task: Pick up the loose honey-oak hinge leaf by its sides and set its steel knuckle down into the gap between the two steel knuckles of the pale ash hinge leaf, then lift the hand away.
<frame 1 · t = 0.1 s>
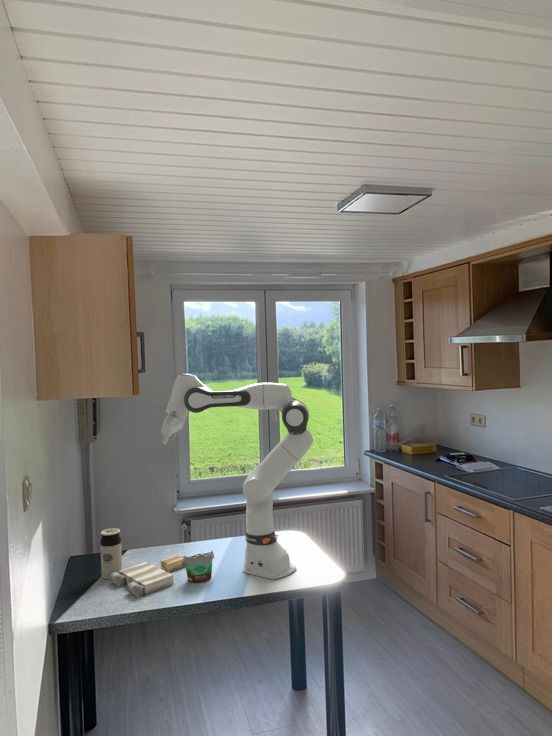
hand: (168, 442, 213), 52 cm above the table, tool tilted 20°, fingers open, 8 cm apart
travel mug: (112, 576, 206), on the table
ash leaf: (146, 581, 199), on the table
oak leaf: (175, 566, 213), on the table
food container: (201, 581, 198), on the table
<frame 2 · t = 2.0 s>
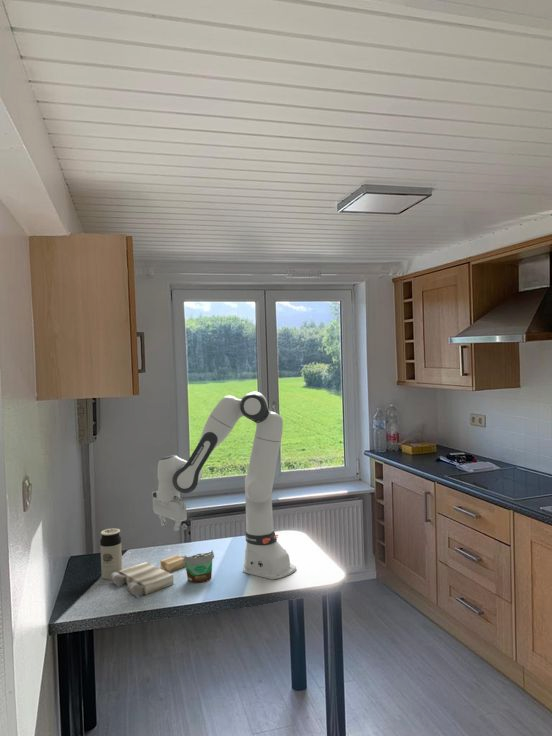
hand: (170, 527, 211), 17 cm above the table, tool pointing down, fingers open, 8 cm apart
nothing on the table moved.
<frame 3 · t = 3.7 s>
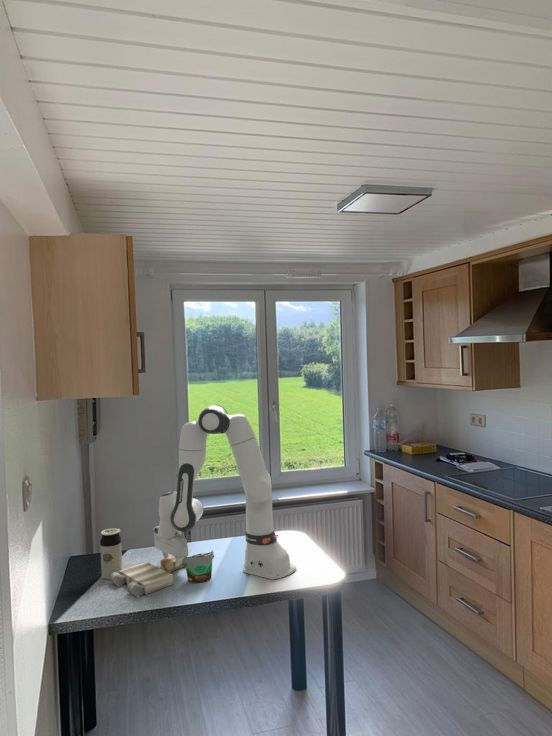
hand: (171, 563, 212), 2 cm above the table, tool pointing down, fingers closed on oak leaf, 6 cm apart
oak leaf: (175, 566, 213), on the table, touching gripper
everything else where it was.
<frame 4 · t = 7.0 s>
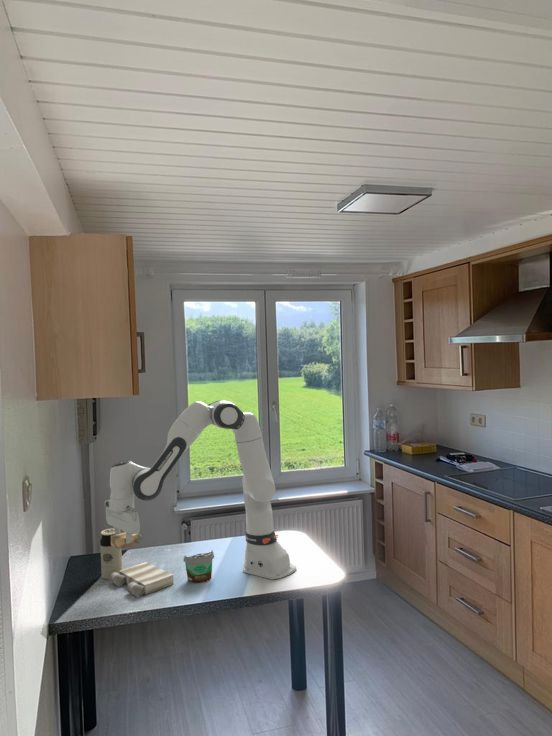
hand: (123, 540, 193), 18 cm above the table, tool pointing down, fingers closed on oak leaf, 6 cm apart
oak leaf: (126, 543, 194), point 16 cm above the table, touching gripper
everything else where it was.
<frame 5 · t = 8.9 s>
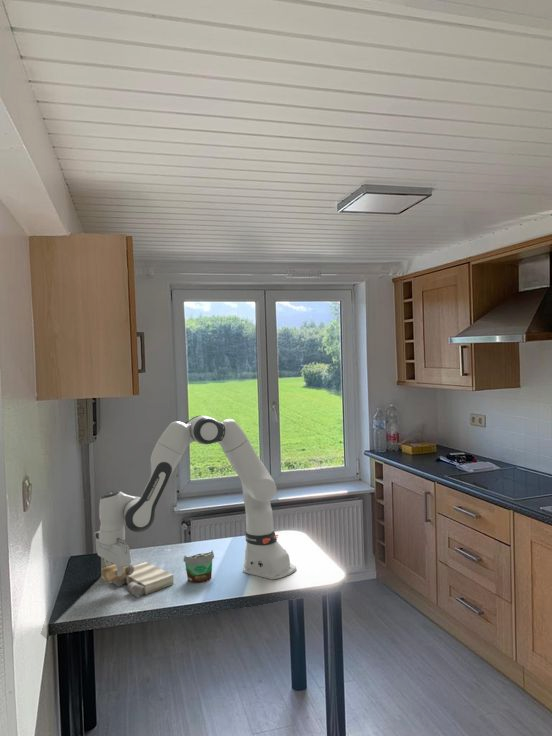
hand: (114, 572, 189), 8 cm above the table, tool pointing down, fingers closed on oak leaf, 6 cm apart
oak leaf: (117, 575, 190), point 6 cm above the table, touching gripper
everything else where it was.
when the fingers open (3 cm above the table, at t = 10.3 s): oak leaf drops 1 cm, on the table.
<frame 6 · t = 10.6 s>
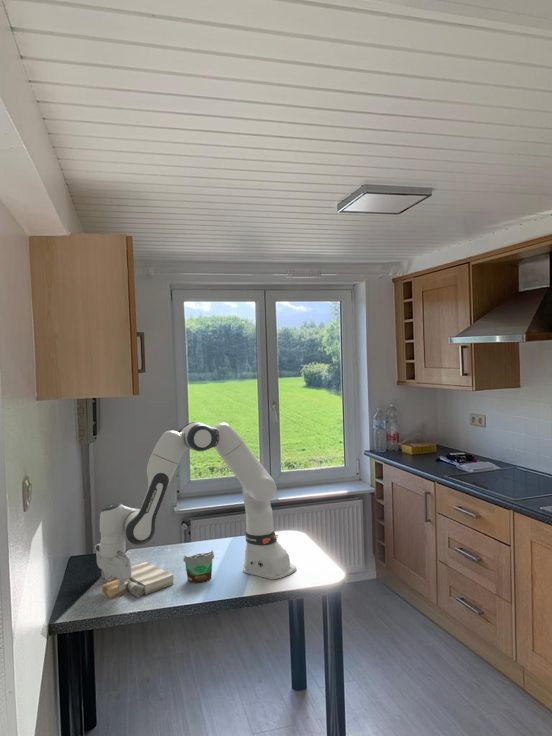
hand: (114, 585, 189), 3 cm above the table, tool pointing down, fingers open, 8 cm apart
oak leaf: (118, 592, 190), on the table
everything else where it was.
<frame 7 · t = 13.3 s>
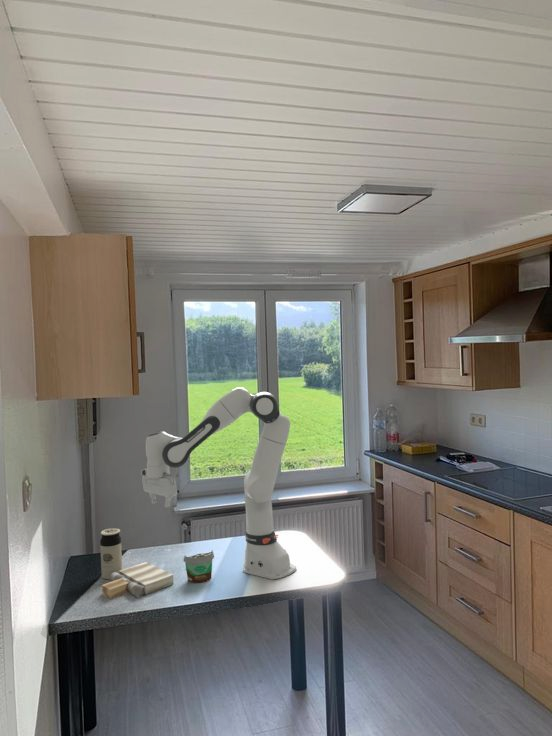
hand: (160, 505, 208), 27 cm above the table, tool pointing down, fingers open, 8 cm apart
nothing on the table moved.
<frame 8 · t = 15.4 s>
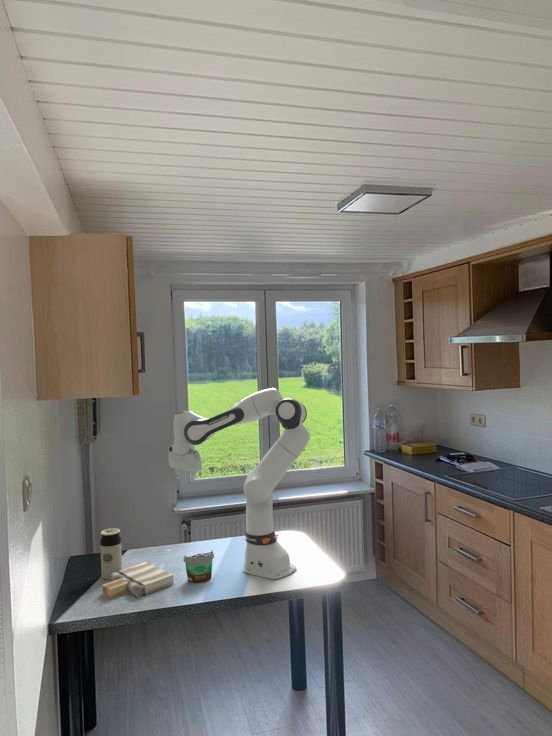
hand: (185, 480, 221), 34 cm above the table, tool pointing down, fingers open, 8 cm apart
nothing on the table moved.
at the end: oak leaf 0.0 cm from the target spot on the table beside the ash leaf, on the table; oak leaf tilted 0°; the gripper is holding nothing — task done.
